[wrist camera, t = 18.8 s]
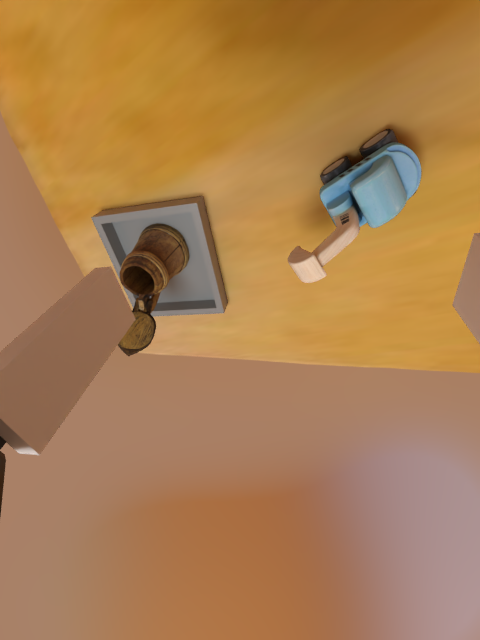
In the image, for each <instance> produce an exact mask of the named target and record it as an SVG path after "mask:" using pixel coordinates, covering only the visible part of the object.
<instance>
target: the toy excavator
mask: <svg viewBox="0 0 480 640" xmlns="http://www.w3.org/2000/svg"><path fill="white" fill-rule="evenodd" d="M360 153H361V155H362V157H363V158H364V159H363V160H362V161H360V162H359V163H357V164H356V165H354V166H353V167H352V165H351V163H350V160H349V158H348V157H347V156H346V157H344V158H342V159H339V161H337V162H334V163H332V164H331V165H330V166H329V167H327V168H326V169H325V170H324V171H323V172H322V173H321V175H320V177H321V180H322V181H323V183H324V186H322V187H321V189H320V198H321V201H322V202H323V204H324V206H325V208H326V209H327V211H328V213H329V215H330V216H331V218H332V220H333V222H334V223H335V225H336V227H337V228H336V229H335V231H334V232H333V233H332V234H331V235H330V236H329V237H327V238H326V239H325V240H324V241H323V242H322V243H321V244H320V245H319V246H318V247H317V248H316V249H315V250H314V251H313V252H312V253H310V252H308V251H306V250H304V249H301V247H300V246H297V247H296V248H295V249H294V250H293V251H292V252H291V253H290V255H289V257H288V263H289V264H290V266H291V267H292V269H293V270H294V272H295V273H296V274H297V276H298V277H299V279H300V280H301V281H302V282H305V283H311V282H315V281H318V280H320V279H322V278H324V277H325V276H326V275H327V274H326V272H325V271H324V269H323V268H322V267H323V266H324V265H325V264H326V263H327V262H329V261H330V260H331V259H332V258H333V257H335V256H336V255H337V254H338V253H339V252H340V251H342V250H343V249H344V248H345V247H346V246H347V245H348V244H350V243H351V242H352V241H353V240H354V239H355V238H356V236H357V235H358V233H359V230H360V226H362V225H364V224H366V223H368V224H369V226H370V227H372V228H376V227H379V226H381V225H383V224H385V223H387V222H388V221H390V220H391V219H393V218H394V217H395V216H396V215H397V214H398V213H399V212H400V211H401V210H402V209H403V207H404V206H405V204H406V201H407V200H408V199H409V198H410V197H411V196H413V195H414V194H415V192H416V190H417V188H418V186H419V183H420V179H421V165H420V161H419V159H418V157H417V156H416V154H415V153H414V152H413V151H412V150H411V149H410V148H408V147H407V146H405V145H404V144H402V143H398V141H397V139H396V136H395V134H394V132H393V130H390V129H386V130H385V131H382V132H381V133H379V134H377V135H376V136H375V137H373V138H372V139H371V140H369V141H368V142H367V143H366V144H364V145H363V146H362V147H361V149H360Z"/></svg>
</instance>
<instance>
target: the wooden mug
mask: <svg viewBox="0 0 480 640" xmlns="http://www.w3.org/2000/svg"><path fill="white" fill-rule="evenodd" d="M188 261H189V250H188V246H187V244H186V241H185V239H184V237H183V236H182V235H181V234H180V233H179V232H178V231H177V230H176V229H174V228H173V227H171V226H168V225H165V224H152V225H150V226H148V227H146V228H145V229H144V230H143V231H142V233H141V235H140V237H139V239H138V242H137V244H136V245H135V247H134V249H133V250H132V252H131V253H129V254H128V255H127V257H126V258H125V259H124V261H123V263H122V266H121V270H120V280H121V283H122V285H123V286H124V287H125V288H126V289H127V290H129V291H130V292H131V293H133V294H135V295H137V296H139V298H136V301H135V305H134V308H133V311H132V312H133V314H134V317H135V319H136V320H135V321H134V322H133V324H132V325H131V327H130V328H129V329H128V331H127V332H126V334H125V335H124V337H123V338H122V339H121V341H120V342H119V344H118V346H119V347H120V348H121V350H122V351H123V352H124V353H125V354H127V355H128V356H130V355H133V354H135V353H137V352H139V351H141V350H143V349H144V348H146V347H147V346H148V345H149V344H150V343H151V341H152V339H153V337H154V333H155V329H156V322H155V320H154V318H153V317H152V315H151V314H150V313H152V311H153V310H154V308H155V306H156V304H157V302H158V299H159V296H160V292H161V291H162V290H164V289H165V288H166V287H167V285H168V283H169V280H170V279H171V278H172V277H173V276H175V275H177V274H179V273H180V272H181V271H182V270H183V269H184V268H185V267H186V266H187V263H188ZM150 296H151V298H150Z"/></svg>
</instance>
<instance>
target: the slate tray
mask: <svg viewBox="0 0 480 640" xmlns="http://www.w3.org/2000/svg"><path fill="white" fill-rule="evenodd" d="M91 218H92V220H93V222H94V225H95V227H96V229H97V231H98V233H99V235H100V237H101V240H102V242H103V244H104V246H105V248H106V250H107V253H108V255H109V257H110V259H111V261H112V263H113V265H114V268H115V270H116V272H117V274H118V276H119V278H120V270H121V266H122V263H123V261H124V259H125V258H126V257H127V255H128V254H129V253H131V252H132V250H133V249H134V247H135V245H136V244H137V242H138V239H139V237H140V235H141V233H142V231H143V230H144V229H145V228H146V227H148V226H150V225H152V224H165V225H168V226H171V227H173V228H174V229H176V230H177V231H178V232H179V233H180V234H181V235H182V236H183V237H184V239H185V241H186V244H187V246H188V250H189V261H188V263H187V266H186V267H185V268H184V269H183V270H182V271H181V272H180V273H179V274H177V275H175V276H173V277H172V278H171V279H170V280H169V283H168V285H167V287H166V288H165V289H164V290H162V291H161V292H160V296H159V299H158V302H157V304H156V306H155V308H154V310H153V311H152V313H150V314H151V315H152V316H172V315H193V314H215V313H224V312H225V309H226V306H227V303H228V301H227V297H226V292H225V288H224V284H223V280H222V275H221V271H220V267H219V263H218V258H217V254H216V250H215V245H214V241H213V237H212V233H211V228H210V224H209V220H208V216H207V211H206V207H205V203H204V199H203V196H200V197H193V198H186V199H179V200H172V201H165V202H158V203H151V204H144V205H137V206H129V207H122V208H115V209H108V210H102V211H101V212H99V213H97V214H96V215H94V216H93V217H91ZM123 287H124V286H123ZM124 289H125V291H126V293H127V295H128V298H129V300H130V302H131V304H132V306H133V308H134V305H135V301H136V298H139V296H137V295H135V294H133V293H131V292H130V291H129V290H127V289H126V288H125V287H124ZM150 298H151V296H150Z"/></svg>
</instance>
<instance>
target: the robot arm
mask: <svg viewBox="0 0 480 640" xmlns="http://www.w3.org/2000/svg"><path fill="white" fill-rule="evenodd" d="M453 307H454V308H455V310H456V311H457V312H458V314H459V315H460V317H461V318H462V320H463V321H464V322H465V324H466V325H467V327H468V328H469V330H470V331H471V332H472V334H473V335H474V337H475V338H476V340H477V341H478V342H479V344H480V233H474V236H473V239H472V243H471V246H470V249H469V253H468V256H467V259H466V262H465V266H464V269H463V272H462V276H461V279H460V282H459V285H458V289H457V292H456V295H455V298H454V302H453ZM135 320H136V319H135V317H134V314H133V312H132V310H131V308H130V306H129V304H128V302H127V300H126V298H125V295H124V293H123V291H122V289H121V287H120V285H119V283H118V281H117V279H116V276H115V274H114V272H113V270H112V268H111V267H102V268H95V269H94V270H92V271H91V272H90V273H89V274H88V275H87V276H86V277H84V278H83V279H82V280H81V281H80V282H79V283H78V284H77V285H76V286H74V287H73V288H72V289H71V290H70V291H69V292H67V294H65V295H64V296H63V297H62V298H61V299H60V300H58V301H57V302H56V303H55V304H54V305H53V306H52V307H50V308H49V309H48V310H47V311H46V312H45V313H44V314H43V315H41V316H40V317H39V318H38V319H37V320H36V321H35V322H33V323H32V324H31V325H30V326H29V327H28V328H27V329H26V330H25V331H23V332H22V333H21V334H20V335H19V336H18V337H16V338H15V339H14V340H13V341H12V342H11V343H10V344H9V345H7V346H6V347H5V348H4V349H3V350H2V351H1V352H0V449H1V448H2V447H3V445H4V444H5V443H6V442H7V443H8V444H9V445H10V446H11V447H12V448H13V449H15V450H16V451H17V452H18V453H21V454H35V455H40V454H41V452H42V451H43V449H44V448H45V447H46V445H47V444H48V442H49V441H50V439H51V438H52V437H53V435H54V434H55V433H56V431H57V429H58V428H59V427H60V425H61V424H62V423H63V421H64V420H65V418H66V417H67V416H68V414H69V413H70V411H71V410H72V409H73V407H74V406H75V404H76V403H77V401H78V400H79V398H80V397H81V396H82V394H83V393H84V391H85V390H86V389H87V387H88V386H89V384H90V383H91V382H92V380H93V379H94V377H95V376H96V375H97V373H98V372H99V370H100V369H101V367H102V366H103V365H104V363H105V362H106V361H107V359H108V357H109V356H110V355H111V353H112V352H113V351H114V349H115V348H116V346H117V345H118V344H119V342H120V341H121V339H122V338H123V337H124V335H125V334H126V332H127V331H128V329H129V328H130V327H131V325H132V324H133V322H134V321H135ZM5 462H6V459H5V455H4V454H3V453H2V452H1V451H0V513H1V504H2V493H3V483H4V472H5Z"/></svg>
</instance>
